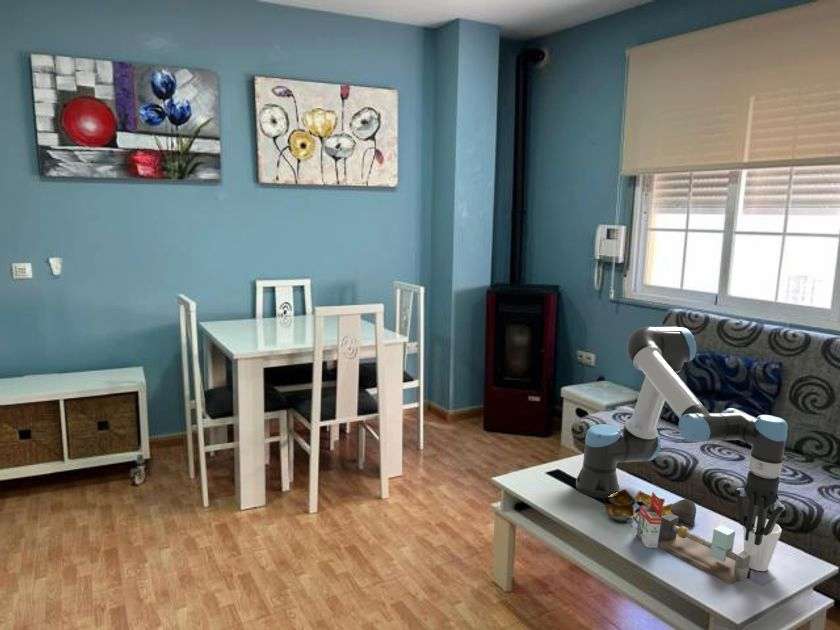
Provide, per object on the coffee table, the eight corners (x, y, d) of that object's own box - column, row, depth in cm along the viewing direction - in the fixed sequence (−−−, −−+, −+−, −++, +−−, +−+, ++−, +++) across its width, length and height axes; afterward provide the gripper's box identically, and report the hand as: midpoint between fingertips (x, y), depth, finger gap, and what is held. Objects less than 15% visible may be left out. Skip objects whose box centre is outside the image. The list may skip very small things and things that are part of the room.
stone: (673, 536, 200) (700, 523, 195) (658, 512, 203) (684, 498, 198) (681, 529, 208) (707, 516, 203) (666, 506, 211) (692, 493, 206)
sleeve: (709, 555, 176) (713, 528, 174) (717, 551, 179) (721, 524, 177) (723, 562, 173) (727, 535, 171) (731, 557, 175) (735, 530, 174)
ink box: (646, 548, 184) (651, 503, 182) (636, 534, 192) (641, 490, 190) (658, 548, 184) (664, 503, 182) (647, 534, 192) (653, 491, 190)
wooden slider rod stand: (652, 543, 187) (655, 519, 186) (672, 533, 194) (675, 510, 192) (733, 585, 167) (738, 558, 166) (752, 573, 174) (757, 547, 173)
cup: (730, 555, 183) (736, 514, 181) (763, 557, 183) (770, 517, 180) (746, 574, 173) (753, 532, 171) (782, 577, 173) (789, 534, 171)
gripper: (733, 467, 168) (721, 546, 172) (783, 485, 157) (769, 569, 161) (746, 461, 172) (734, 538, 176) (796, 479, 162) (782, 560, 166)
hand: (751, 553), depth 169 cm, fingers closed
